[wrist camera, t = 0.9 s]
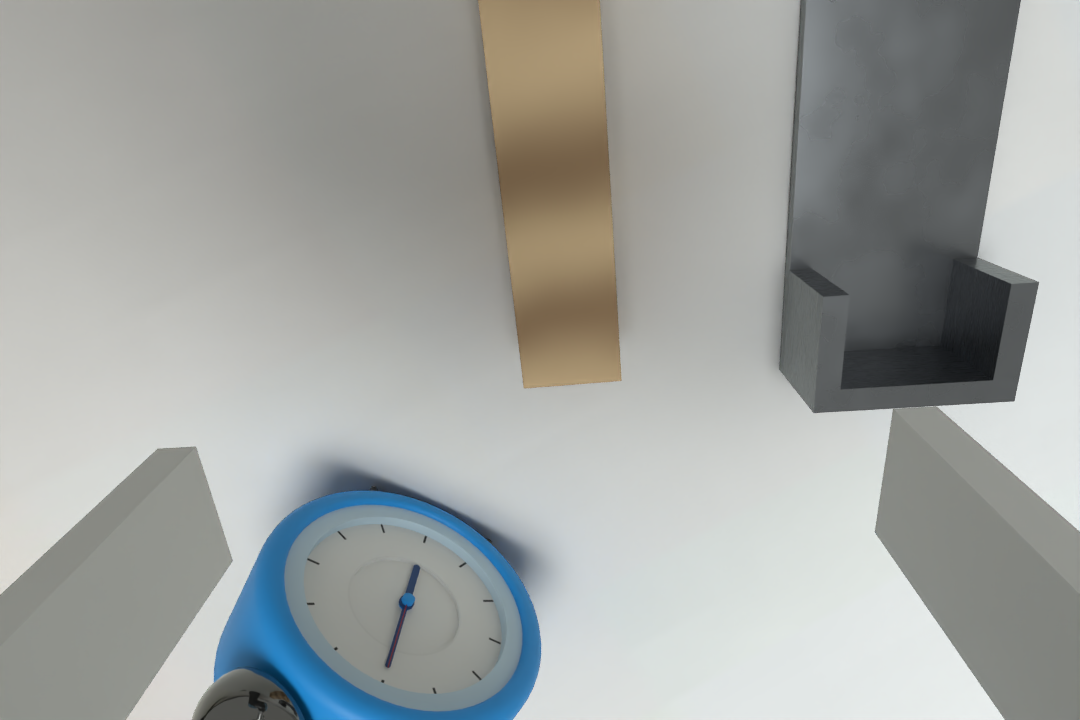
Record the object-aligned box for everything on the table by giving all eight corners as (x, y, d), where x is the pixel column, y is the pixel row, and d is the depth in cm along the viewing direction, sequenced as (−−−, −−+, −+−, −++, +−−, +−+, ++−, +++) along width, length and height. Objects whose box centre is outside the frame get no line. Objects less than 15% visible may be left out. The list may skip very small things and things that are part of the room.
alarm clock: (548, 551, 36) (541, 840, 22) (496, 627, 38) (460, 935, 24) (324, 448, 34) (162, 694, 20) (283, 534, 36) (110, 812, 22)
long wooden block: (479, -97, 25) (461, -140, 20) (585, -110, 25) (590, -156, 20) (529, 345, 32) (523, 388, 27) (612, 338, 32) (621, 380, 27)
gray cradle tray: (813, -203, 23) (869, -268, 19) (1048, -228, 23) (1159, -301, 19) (779, 369, 32) (813, 413, 27) (952, 358, 31) (1014, 401, 27)
